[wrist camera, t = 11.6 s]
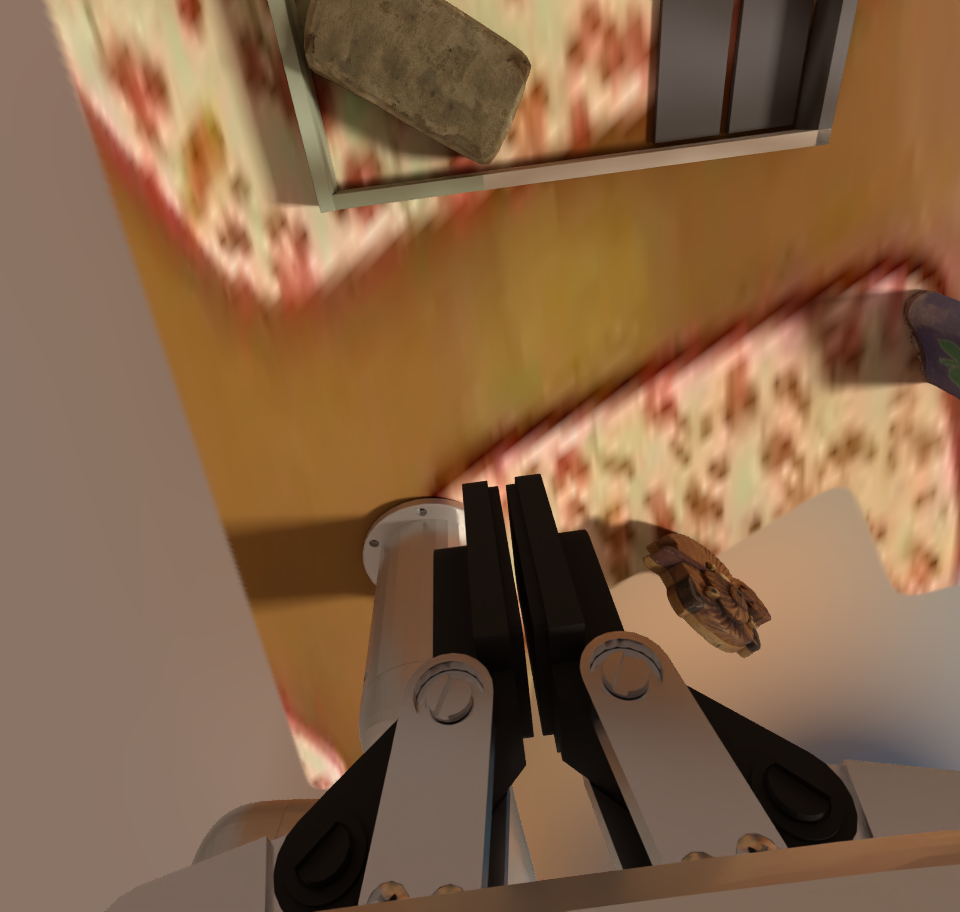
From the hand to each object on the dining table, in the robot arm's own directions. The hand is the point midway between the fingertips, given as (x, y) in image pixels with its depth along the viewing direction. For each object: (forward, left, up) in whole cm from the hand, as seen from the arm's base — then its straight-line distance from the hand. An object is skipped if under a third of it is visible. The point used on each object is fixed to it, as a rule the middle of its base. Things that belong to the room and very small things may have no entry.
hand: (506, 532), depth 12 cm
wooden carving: (-31, -19, -29) cm, 47 cm away
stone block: (+10, +1, -30) cm, 31 cm away
